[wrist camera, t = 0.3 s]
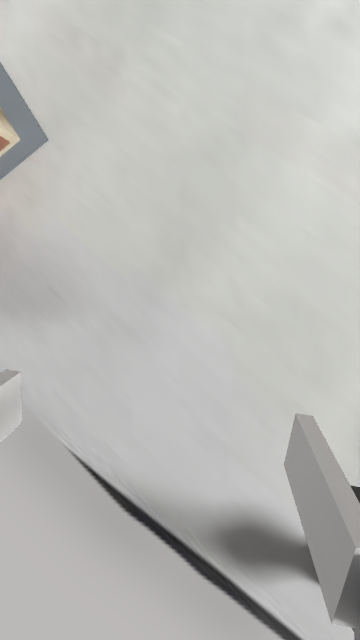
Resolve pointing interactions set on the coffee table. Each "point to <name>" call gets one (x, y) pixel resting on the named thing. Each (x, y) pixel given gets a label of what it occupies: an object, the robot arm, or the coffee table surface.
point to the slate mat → (18, 125)
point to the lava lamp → (356, 633)
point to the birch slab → (6, 134)
